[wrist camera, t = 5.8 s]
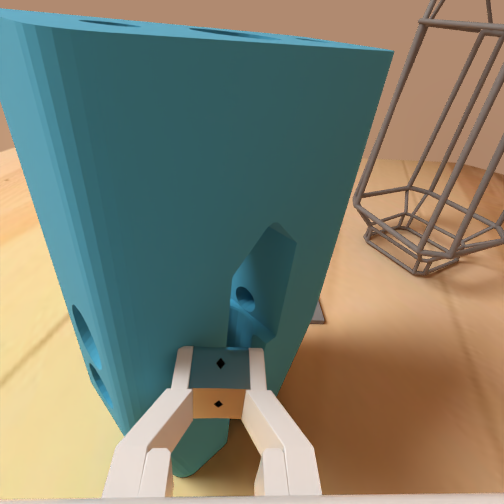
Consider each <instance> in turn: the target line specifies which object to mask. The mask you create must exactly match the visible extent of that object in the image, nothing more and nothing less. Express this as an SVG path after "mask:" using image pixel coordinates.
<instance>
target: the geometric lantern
mask: <svg viewBox="0 0 504 504" xmlns="http://www.w3.org/2000/svg"><path fill="white" fill-rule="evenodd" d="M444 1H445V0H441V1H440V2H439V4H438V6H437V7H436V9H435V11H434V12H433V14H432V16H431V17H430V19H428V18H429V16H430V14H431V12H432V10H433V7H434V5H435V3H436V0H430V3H429V5H428V7H427V9H426V11H425V14H424V16H423V18H421V19H419V21H418V23H419V26H418V29H417V32H416V34H415V37H414V40H413V43H412V46H411V48H410V51H409V54H408V56H407V59H406V62H405V65H404V68H403V71H402V73H401V76H400V79H399V82H398V84H397V87H396V90H395V93H394V95H393V98H392V101H391V104H390V107H389V109H388V112H387V114H386V117H385V120H384V122H383V124H382V127H381V129H380V132H379V134H378V137H377V140H376V142H375V144H374V147H373V149H372V152H371V154H370V156H369V159H368V161H367V164H366V166H365V169H364V171H363V174H362V176H361V179H360V181H359V184H358V186H357V189H356V191H355V194H354V196H353V205H354V207H355V208H356V209H357V211H358V212H359V214H360V215H361V216H362V218H363V219H364V221H365V222H366V224H367V225H368V229H367V231H366V234H365V235H364V236H363V237H364V239H365V241H366V243H368V244H370V245H371V246H373V247H374V248H375V249H377V250H378V251H380V252H381V253H383V254H384V255H386V256H387V257H389V258H390V259H392V260H393V261H395V262H396V263H397V264H399V265H400V266H402V267H403V268H405V269H406V270H408V271H409V272H411V273H412V274H416V275H427V274H429V273H431V272H434V271H436V270H439V269H441V268H444V267H446V266H448V265H451V264H453V263H456V262H458V261H459V258H460V256H464V255H467V254H471V253H474V252H478V251H481V250H485V249H488V248H492V247H495V246H499V245H502V244H504V230H503V229H502V227H501V225H502V223H503V222H504V210H503V212H502V214H501V215H500V217H499V219H498V220H497V222H496V223H494V222H492V221H490V220H488V219H486V218H484V217H482V216H480V215H478V214H476V213H475V210H476V208H477V206H478V204H479V202H480V200H481V198H482V196H483V194H484V192H485V190H486V188H487V186H488V184H489V181H490V179H491V177H492V175H493V173H494V171H495V169H496V167H497V165H498V163H499V161H500V159H501V157H502V155H503V152H504V134H503V136H502V138H501V140H500V142H499V144H498V146H497V149H496V151H495V153H494V155H493V157H492V159H491V161H490V163H489V166H488V168H487V170H486V172H485V174H484V176H483V178H482V181H481V183H480V185H479V187H478V189H477V191H476V193H475V195H474V198H473V200H472V202H471V204H470V206H469V208H468V209H466V208H464V207H462V206H460V205H458V204H456V203H454V202H452V201H450V200H448V197H449V194H450V192H451V190H452V188H453V186H454V184H455V182H456V180H457V178H458V176H459V174H460V172H461V170H462V167H463V165H464V163H465V161H466V159H467V157H468V155H469V153H470V151H471V149H472V147H473V145H474V143H475V140H476V138H477V136H478V134H479V132H480V130H481V128H482V126H483V124H484V122H485V120H486V118H487V116H488V113H489V111H490V109H491V107H492V105H493V103H494V101H495V99H496V97H497V95H498V93H499V91H500V88H501V86H502V84H503V82H504V63H503V65H502V67H501V69H500V72H499V74H498V76H497V78H496V80H495V82H494V84H493V86H492V88H491V91H490V93H489V95H488V97H487V99H486V101H485V103H484V106H483V108H482V110H481V112H480V114H479V116H478V118H477V121H476V122H475V125H474V127H473V129H472V131H471V133H470V135H469V137H468V140H467V142H466V144H465V146H464V148H463V150H462V153H461V154H460V157H459V159H458V161H457V163H456V165H455V167H454V169H453V172H452V174H451V176H450V178H449V180H448V182H447V184H446V186H445V189H444V191H443V193H442V195H441V196H440V195H438V194H436V193H434V192H433V190H434V188H435V186H436V184H437V182H438V180H439V178H440V176H441V174H442V172H443V169H444V167H445V165H446V163H447V161H448V159H449V157H450V155H451V152H452V150H453V148H454V146H455V144H456V142H457V139H458V138H459V135H460V133H461V131H462V129H463V127H464V125H465V123H466V120H467V118H468V116H469V114H470V112H471V110H472V108H473V106H474V104H475V101H476V99H477V97H478V95H479V93H480V91H481V88H482V87H483V84H484V82H485V80H486V78H487V76H488V73H489V71H490V70H491V67H492V65H493V63H494V61H495V59H496V56H497V54H498V52H499V50H500V48H501V46H502V44H503V42H504V24H493V22H492V13H491V4H490V0H486V5H487V13H488V22H489V23H479V22H464V21H451V20H438V19H434V18H435V16H436V14H437V13H438V11H439V9H440V8H441V6H442V5H443V3H444ZM428 27H436V28H444V29H453V30H461V31H468V32H477V33H478V32H480V31H481V32H480V33H479V35H478V38H477V40H476V42H475V44H474V46H473V48H472V50H471V52H470V55H469V57H468V59H467V61H466V63H465V65H464V67H463V70H462V72H461V74H460V76H459V78H458V80H457V82H456V84H455V86H454V89H453V91H452V93H451V95H450V97H449V99H448V101H447V103H446V105H445V108H444V110H443V112H442V114H441V116H440V118H439V120H438V122H437V124H436V127H435V129H434V131H433V133H432V135H431V137H430V139H429V141H428V144H427V146H426V148H425V150H424V152H423V154H422V156H421V158H420V160H419V163H418V165H417V167H416V169H415V171H414V173H413V175H412V177H411V179H410V181H409V183H408V185H407V186H404V187H399V188H393V189H387V190H381V191H375V192H369V193H364V191H365V188H366V185H367V183H368V180H369V177H370V174H371V172H372V169H373V166H374V164H375V161H376V158H377V156H378V153H379V150H380V147H381V145H382V142H383V139H384V137H385V134H386V131H387V129H388V126H389V123H390V120H391V118H392V115H393V112H394V110H395V107H396V104H397V102H398V99H399V97H400V94H401V92H402V90H403V87H404V85H405V82H406V80H407V78H408V75H409V73H410V70H411V68H412V66H413V63H414V61H415V58H416V56H417V53H418V51H419V48H420V46H421V44H422V41H423V39H424V36H425V34H426V31H427V29H428ZM481 29H483V30H481ZM485 35H486V36H497V37H500V38H499V40H498V42H497V44H496V46H495V48H494V50H493V52H492V54H491V56H490V58H489V61H488V63H487V65H486V67H485V69H484V71H483V73H482V75H481V78H480V80H479V82H478V84H477V86H476V89H475V91H474V93H473V95H472V97H471V99H470V102H469V104H468V106H467V108H466V110H465V112H464V115H463V117H462V119H461V121H460V123H459V125H458V128H457V130H456V132H455V134H454V137H453V139H452V141H451V143H450V145H449V147H448V149H447V152H446V154H445V156H444V158H443V160H442V162H441V165H440V167H439V169H438V171H437V173H436V175H435V178H434V180H433V182H432V184H431V186H430V189H429V191H428V190H425V189H421V188H418V187H414V186H412V185H413V183H414V181H415V179H416V177H417V175H418V173H419V171H420V169H421V167H422V165H423V162H424V160H425V158H426V156H427V154H428V152H429V150H430V148H431V146H432V144H433V142H434V140H435V138H436V135H437V133H438V131H439V129H440V127H441V125H442V123H443V121H444V119H445V117H446V115H447V113H448V111H449V108H450V107H451V104H452V102H453V100H454V98H455V96H456V94H457V92H458V90H459V88H460V86H461V84H462V82H463V79H464V77H465V75H466V73H467V71H468V69H469V67H470V65H471V63H472V61H473V59H474V57H475V55H476V53H477V51H478V48H479V46H480V44H481V42H482V40H483V38H484V36H485ZM405 190H406V191H405ZM409 190H412V191H416V192H420V193H423V194H425V195H424V196H423V198H422V199H421V201H420V202H419V204H418V205H417V207H416V208H415V210H414V211H413V213H412V214H410V213H407V211H408V192H409ZM400 191H405V209H404V212H403V213H400V214H397V215H394V216H390V217H387V218H384V219H381V220H380V219H378V218H377V217H375V216H374V215H373V214H371V213H370V212H368V211H367V210H366V209H364V208H363V207H362V206H361V204H360V201H361V199H362V198H366V197H371V196H377V195H383V194H388V193H394V192H400ZM428 195H430V196H432V197H434V198H436V199H438V200H439V201H438V204H437V206H436V208H435V210H434V212H433V214H432V216H431V218H430V221H429V222H427V221H426V220H424V219H422V218H420V217H418V216H416V215H415V214H416V212H417V211H418V209H419V208H420V206H421V205H422V203H423V202H424V200H425V199H426V197H427V196H428ZM445 203H446V204H448V205H449V206H451V207H453V208H455V209H457V210H459V211H461V212H463V213H465V214H466V215H465V217H464V219H463V221H462V223H461V225H460V228H459V230H458V232H457V234H456V236H455V235H453V234H451V233H449V232H447V231H445V230H443V229H441V228H439V227H437V226H435V224H436V221H437V219H438V217H439V215H440V213H441V211H442V209H443V207H444V205H445ZM405 215H407V216H410V219H409V221H408V223H407V225H406V227H404V226H401V224H402V222H403V219H404V217H405ZM400 216H401V218H400V221H399V223H398V225H397V226H394V227H389V226H388V225H387V224H385V223H384V222H385V221H388V220H391V219H394V218H397V217H400ZM472 217H473V218H475V219H477V220H479V221H481V222H483V223H485V224H487V225H488V226H490V227H488V228H486V229H484V230H482V231H480V232H478V233H476V234H473V235H471V236H469V237H467V238H465V239H462V238H463V236H464V233H465V231H466V229H467V227H468V225H469V223H470V221H471V219H472ZM369 218H370V219H371V220H372V221H374V222H372V223H371V222H370V220H369ZM413 218H415V219H417V220H419V221H421V222H423V223H425V224H426V225H427V227H426V229H425V231H424V234H423V235H421V234H420V233H418V232H416V231H414V230H413V229H411V228H409V226H410V224H411V222H412V220H413ZM375 224H378V225H379V226H380V227H382V228H383V230H380V231H379V230H377V229H376V228H374V227H373V226H372V225H375ZM397 228H399V229H405V230H408V231H410V232H412V233H414V234H415V235H417V236H419V237H420V238H421V240H420V242H419V244H418V247H417V246H416V245H415V244H413V243H412V242H410V241H409V240H408V239H406V238H405V237H403V236H402V235H401V234H399V233H398V232H396V231H395V230H394V229H397ZM433 228H434V229H436V230H438V231H440V232H442V233H444V234H446V235H448V236H449V237H451V238H453V239H454V241H453V243H452V245H451V248H450V250H448V249H446V248H444V247H442V246H441V245H439V244H437V243H435V242H434V241H432V240H430V239H428V238H429V236H430V234H431V232H432V230H433ZM493 228H494V229H496V230H497V232H498V234H499V236H500V237H501V239H496V240H490V241H485V242H479V243H473V244H467V245H465V242H467V241H469V240H471V239H473V238H475V237H477V236H479V235H481V234H483V233H485V232H487V231H489V230H491V229H493ZM372 231H375V232H372ZM383 232H389V233H390V234H391V235H393V236H394V237H395V238H397V239H398V240H400V241H401V242H402V243H404V244H405V245H406V246H408V247H409V248H410V249H412V250H413V251H415V252H416V253H417V255H416V254H414V253H413V252H411V251H410V250H408V249H407V248H405V247H403V246H402V245H400V244H399V243H397V242H396V241H394V240H393V239H391V238H390V237H388V236H387V235H385V234H384V233H383ZM376 234H379V235H381V236H382V237H384V238H385V239H387V240H388V241H390V242H391V243H393V244H394V245H396V246H397V247H399V248H400V249H402V250H403V251H405V252H406V253H408V254H409V255H411V256H412V257H414V258H415V259H417V261H416V263H415V266H414V268H413V270H412V269H411V268H410V267H408V266H407V265H405V264H404V263H402V262H401V261H399V260H398V259H396V258H395V257H393V256H392V255H390V254H389V253H387V252H386V251H384V250H383V249H381V248H380V247H378V246H377V245H375V244H374V243H372V242H371V241H369V240H370V237H371V236H372V235H376ZM426 242H429V243H431V244H433V245H434V246H436V247H438V248H439V249H441V250H443V251H445V253H443V252H436V251H429V250H423V248H424V246H425V244H426ZM460 245H461V246H460ZM469 247H471V248H469ZM464 248H468V249H464ZM458 250H459V251H458ZM456 251H457V252H456ZM422 255H423V256H430V257H432V258H430V259H423V258H422ZM441 259H454V260H452V261H449V262H447V263H444V264H442V265H439V266H437V267H434V268H432V269H429V268H430V266H431V264H432V262H434V261H438V260H441ZM420 262H426V263H427V265H426V267H425V269H424V271H423V272H421V271H417V268H418V266H419V264H420Z"/></svg>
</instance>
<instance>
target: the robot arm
mask: <svg viewBox="0 0 504 504" xmlns="http://www.w3.org/2000/svg"><path fill="white" fill-rule="evenodd" d="M217 417H218V418H229V419H242V422H243V424H244V426H245V428H246V429H247V431H248V433H249V435H250V437H251V439H252V440H253V442H254V444H255V446H256V448H257V450H258V451H259V453H260V455H261V461H260V464H259V468H258V472H257V475H256V479H255V482H254V496H207V497H172V495H173V487H174V483H173V473H172V462H171V453H172V451H173V450H174V448H175V447H176V445H177V444H178V442H179V441H180V439H181V437H182V436H183V434H184V433H185V431H186V430H187V428H188V427H189V425H190V424H191V422H192V421H193V418H217ZM0 504H504V493H438V494H361V495H322V490H321V485H320V479H319V474H318V468H317V463H316V457H315V452H314V447H313V446H312V444H311V443H310V442H309V440H308V439H307V438H306V436H305V435H304V434H303V432H302V431H301V430H300V428H299V427H298V426H297V424H296V423H295V422H294V420H293V419H292V418H291V416H290V415H289V414H288V412H287V411H286V410H285V408H284V407H283V406H282V404H281V403H280V402H279V400H278V399H277V398H276V396H275V395H274V394H273V392H272V391H271V390H267V385H266V373H265V362H264V351H263V349H262V348H248V347H221V348H220V347H201V346H183V347H181V348H179V349H178V351H177V357H176V363H175V368H174V374H173V380H172V386H171V388H167V389H166V390H165V391H164V392H163V393H162V394H161V396H160V397H159V398H158V399H157V400H156V401H155V402H154V404H153V405H152V406H151V407H150V408H149V409H148V410H147V412H146V413H145V414H144V415H143V416H142V417H141V418H140V420H139V421H138V422H137V423H136V424H135V425H134V426H133V428H132V429H131V430H130V431H129V432H128V433H127V434H126V436H125V437H124V438H123V439H122V440H121V441H120V442H119V444H118V445H117V446H116V448H115V451H114V455H113V458H112V462H111V466H110V469H109V473H108V476H107V480H106V483H105V487H104V490H103V494H102V497H101V498H56V499H0Z"/></svg>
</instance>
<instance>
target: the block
mask: <svg viewBox="0 0 504 504" xmlns="http://www.w3.org/2000/svg"><path fill="white" fill-rule="evenodd" d="M393 54H394V51H392V50H386V49H380V48H374V47H367V46H360V45H354V44H347V43H340V42H334V41H327V40H320V39H314V38H306V37H298V36H289V35H280V34H269V33H258V32H247V31H237V30H227V29H216V28H205V27H195V26H184V25H173V24H162V23H152V22H141V21H129V20H120V19H109V18H98V17H87V16H76V15H66V14H55V13H44V12H34V11H22V10H12V9H1V8H0V102H1V104H2V108H3V111H4V114H5V117H6V120H7V123H8V126H9V129H10V132H11V135H12V139H13V142H14V145H15V148H16V151H17V154H18V157H19V160H20V163H21V167H22V170H23V173H24V176H25V179H26V182H27V185H28V188H29V191H30V194H31V197H32V201H33V204H34V207H35V210H36V213H37V216H38V219H39V222H40V225H41V228H42V231H43V235H44V238H45V241H46V244H47V247H48V250H49V253H50V256H51V259H52V262H53V266H54V269H55V272H56V275H57V278H58V281H59V284H60V287H61V290H62V293H63V296H64V300H65V303H66V306H67V309H68V312H69V315H70V318H71V321H72V324H73V327H74V330H75V334H76V337H77V340H78V343H79V346H80V349H81V352H82V355H83V358H84V361H85V364H86V368H87V371H88V374H89V377H90V380H91V382H92V384H93V386H94V388H95V389H96V391H97V393H98V394H99V396H100V397H101V399H102V401H103V402H104V404H105V406H106V407H107V409H108V411H109V412H110V414H111V415H112V417H113V419H114V420H115V422H116V424H117V425H118V427H119V428H120V430H121V432H122V433H123V435H124V436H126V434H127V433H128V432H129V431H130V430H131V429H132V428H133V426H134V425H135V424H136V423H137V422H138V421H139V420H140V418H141V417H142V416H143V415H144V414H145V413H146V412H147V410H148V409H149V408H150V407H151V406H152V405H153V404H154V402H155V401H156V400H157V399H158V398H159V397H160V396H161V394H162V393H163V392H164V391H165V390H166V389H167V388H171V386H172V380H173V374H174V368H175V363H176V357H177V351H178V349H179V348H181V347H183V346H201V347H220V348H221V347H248V348H262V349H263V351H264V362H265V373H266V385H267V390H271V391H272V392H273V394H274V395H275V396H277V395H278V392H279V390H280V388H281V386H282V384H283V381H284V379H285V377H286V375H287V373H288V370H289V368H290V366H291V364H292V362H293V359H294V357H295V355H296V353H297V351H298V348H299V346H300V344H301V342H302V340H303V337H304V335H305V333H306V331H307V329H308V326H309V324H310V322H311V320H312V318H313V315H314V312H315V309H316V306H317V303H318V299H319V296H320V293H321V290H322V286H323V283H324V280H325V276H326V273H327V270H328V267H329V263H330V260H331V257H332V254H333V250H334V247H335V244H336V241H337V237H338V234H339V231H340V227H341V224H342V221H343V218H344V214H345V211H346V208H347V205H348V201H349V198H350V195H351V192H352V188H353V185H354V182H355V178H356V175H357V172H358V169H359V165H360V162H361V159H362V155H363V152H364V149H365V146H366V142H367V139H368V136H369V132H370V129H371V126H372V123H373V120H374V116H375V113H376V110H377V106H378V103H379V100H380V97H381V93H382V90H383V87H384V84H385V80H386V77H387V74H388V71H389V67H390V64H391V61H392V57H393ZM229 421H230V419H229V418H218V417H217V418H193V421H192V422H191V424H190V425H189V427H188V428H187V430H186V431H185V433H184V434H183V436H182V437H181V439H180V441H179V442H178V444H177V445H176V447H175V448H174V450H173V451H172V453H171V462H172V473H173V475H175V476H177V477H188V476H190V475H192V474H194V473H195V472H196V471H197V470H198V469H200V468H201V467H202V466H203V465H204V464H205V463H206V462H207V461H208V460H209V459H210V458H211V457H212V456H214V455H215V454H216V453H217V452H218V451H219V450H220V449H221V448H222V447H223V446H224V445H225V444H226V443H227V438H228V429H229Z"/></svg>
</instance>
